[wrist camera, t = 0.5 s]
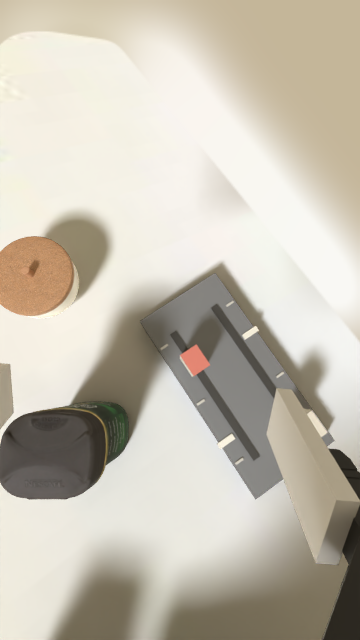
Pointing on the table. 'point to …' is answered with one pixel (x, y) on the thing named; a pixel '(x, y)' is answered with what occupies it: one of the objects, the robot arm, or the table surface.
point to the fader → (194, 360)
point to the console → (226, 375)
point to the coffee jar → (61, 449)
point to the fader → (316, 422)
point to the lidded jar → (37, 278)
